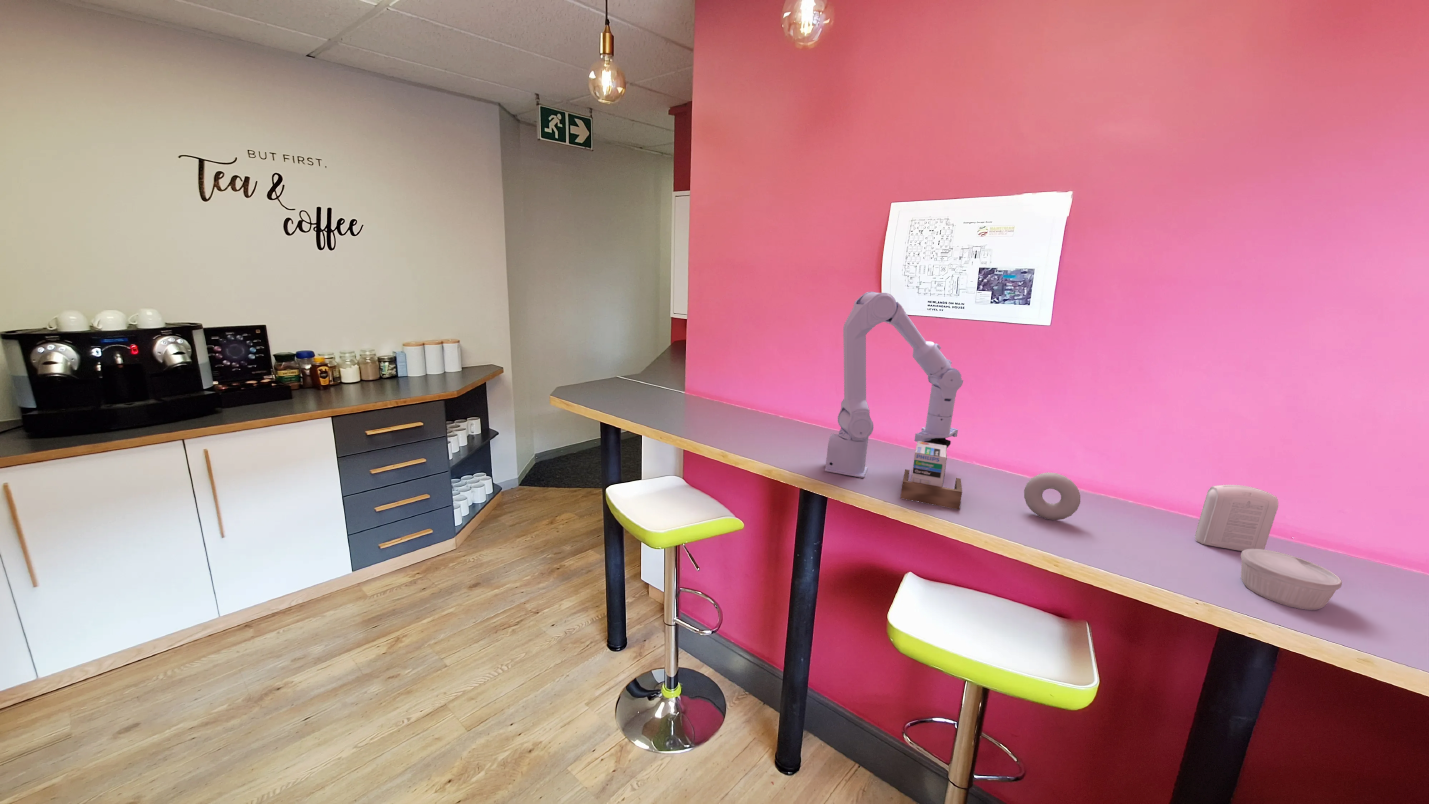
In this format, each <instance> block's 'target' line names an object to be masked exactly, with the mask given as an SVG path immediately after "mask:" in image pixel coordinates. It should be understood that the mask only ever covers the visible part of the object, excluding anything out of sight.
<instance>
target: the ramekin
mask: <svg viewBox="0 0 1429 804" xmlns="http://www.w3.org/2000/svg"><path fill="white" fill-rule="evenodd" d="M1240 559H1241V564H1240V565H1241V569H1240V579H1241V581H1242V582H1243V584H1244V586H1245V587H1246V588H1247V589H1249V590H1250V591H1251V592H1253V593H1254V594H1257V595H1258V596H1261V597H1262V598H1265V599H1267V600H1270V601H1271V602H1275V603H1277V604H1281V605H1284V606H1287V607H1291V608H1294V609H1299V610H1307V611H1315V610H1319V609H1322V608H1324V607H1326V605H1327V604H1328V603H1329V601H1330V600H1331V598H1333V596H1334V594H1335V593H1336V591H1338V590H1340V588H1341V587H1342V585H1343V581H1342V580H1341V578H1340V577H1339V576H1338V575H1336V574H1335V573H1334V572H1332V571H1331V570H1329V569H1328V568H1325V567H1323V566H1321V565H1319V564H1316V563H1314V562H1312V561H1308V560H1306V559H1303V558H1301V557H1297V556H1294V555H1291V554H1287V553H1284V552H1279V551H1275V550H1270V549H1264V550H1263V549H1246V550H1244V551H1241V553H1240Z"/></svg>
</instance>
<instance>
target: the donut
mask: <svg viewBox="0 0 1429 804" xmlns="http://www.w3.org/2000/svg"><path fill="white" fill-rule="evenodd" d="M1049 489H1050V490H1054V491H1057V492H1058V494H1060V500H1059V501H1058V502H1056V503H1055V502H1054V503H1050V502H1047V501H1046V500H1045V499H1044V498H1043V494H1044V492H1045V491H1046V490H1049ZM1023 498H1024V500H1025V503H1026V506H1027V507H1028V508H1029V509H1030V510H1031V512H1033V513H1034V514H1035V515H1037V516H1038V517H1041V518H1043V519H1045V520H1051V521H1058V520H1064V519H1067V518H1069V517H1071V516H1073V515H1074V514H1075V513H1076V512H1077V511H1078V509H1079V507H1080V505H1081V493H1080V490H1079V488H1078V486H1077V485H1076V484H1075V482H1074V481H1072V480H1071V479H1070V478H1068V477H1067V476H1065V475H1062V474H1060V473H1058V472H1048V471H1047V472H1042V473H1039V474H1037V475H1035V476H1033V477H1031V478H1030V479H1029V480H1028V482H1026V484H1025V487H1024V490H1023Z"/></svg>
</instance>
